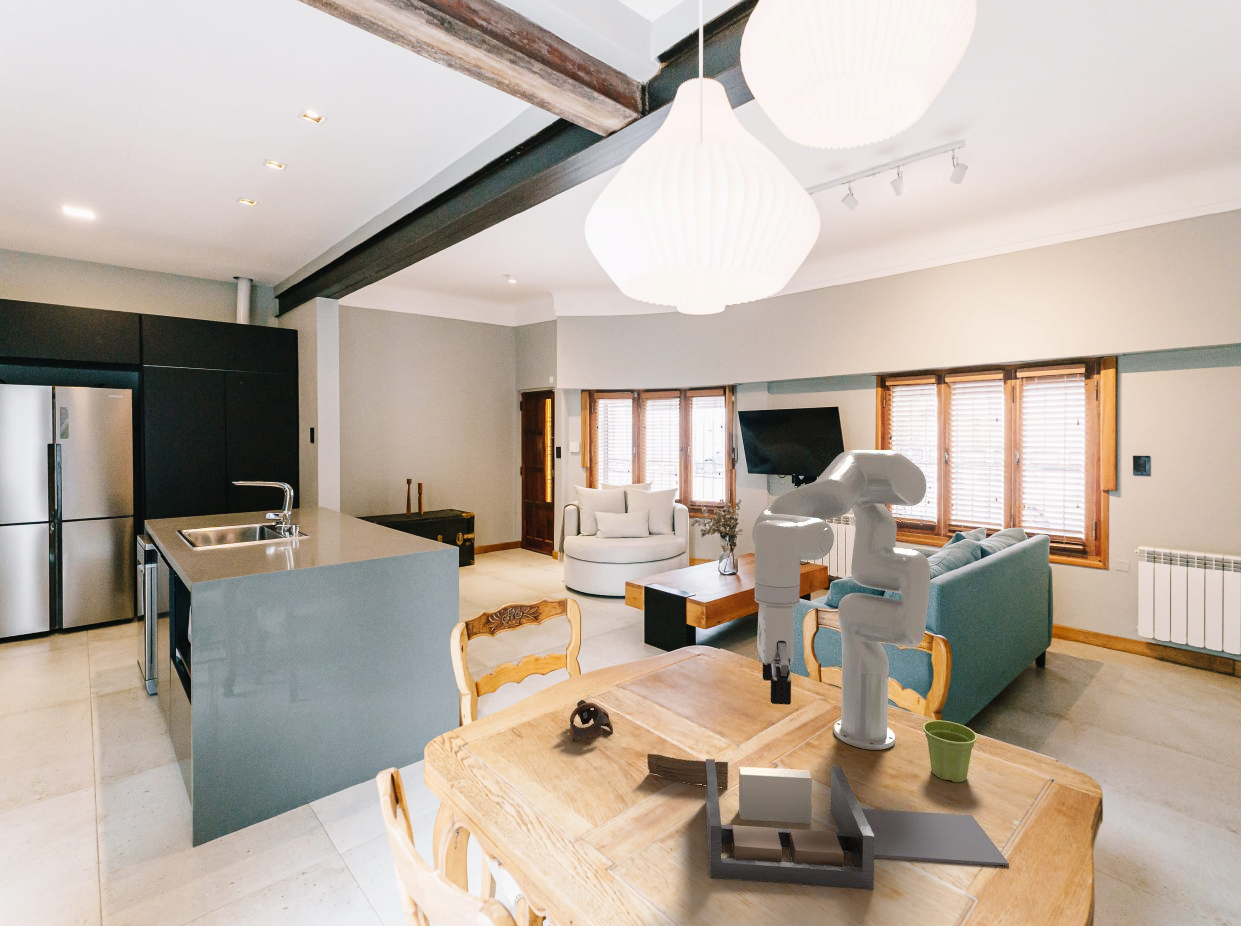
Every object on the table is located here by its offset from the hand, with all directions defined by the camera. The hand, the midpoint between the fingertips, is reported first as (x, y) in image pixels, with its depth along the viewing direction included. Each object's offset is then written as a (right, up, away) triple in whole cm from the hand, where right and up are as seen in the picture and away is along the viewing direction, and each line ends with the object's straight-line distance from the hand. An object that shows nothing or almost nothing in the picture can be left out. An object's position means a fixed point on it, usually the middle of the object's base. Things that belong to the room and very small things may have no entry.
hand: (775, 691), depth 104 cm
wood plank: (-14, -22, +12) cm, 29 cm away
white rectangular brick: (0, -22, +1) cm, 22 cm away
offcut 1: (-6, -23, -10) cm, 26 cm away
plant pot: (+38, -22, +14) cm, 46 cm away
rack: (-1, -22, -5) cm, 23 cm away
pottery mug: (-34, -21, +31) cm, 50 cm away
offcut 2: (+3, -23, -11) cm, 26 cm away
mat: (+24, -22, -4) cm, 33 cm away
